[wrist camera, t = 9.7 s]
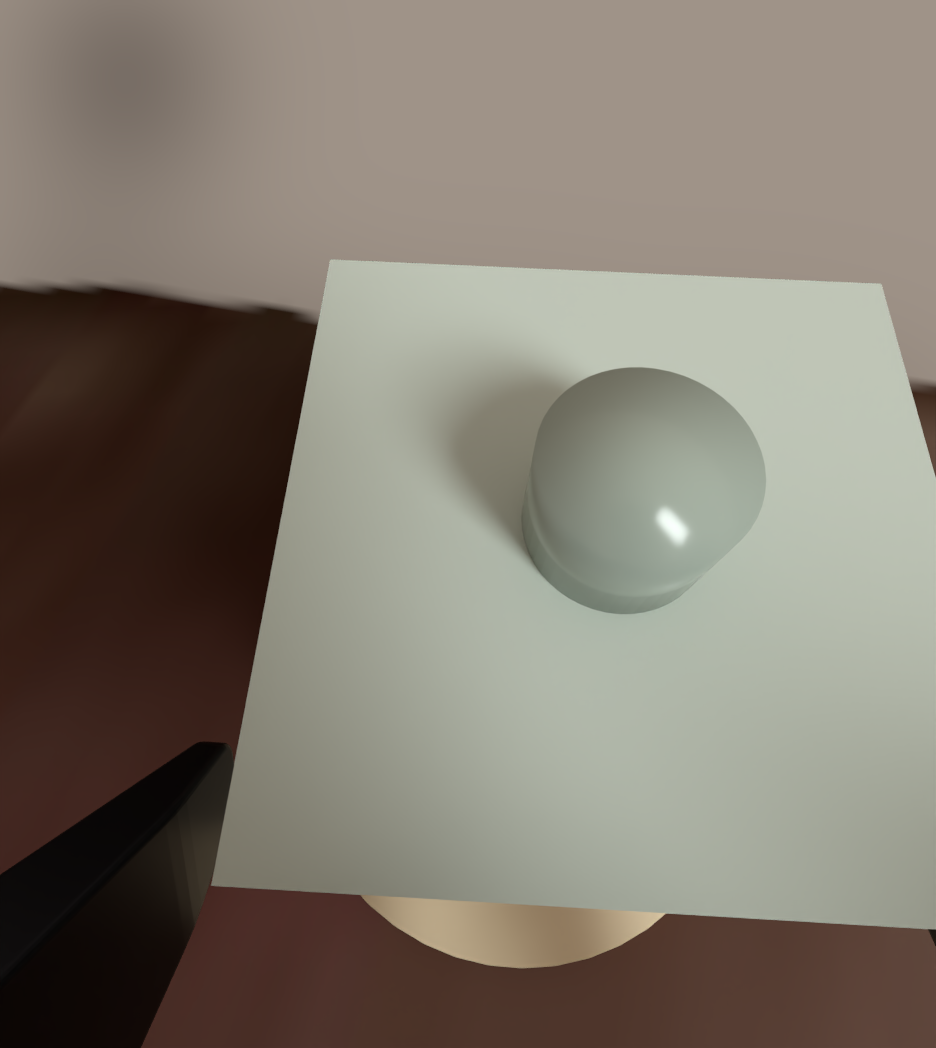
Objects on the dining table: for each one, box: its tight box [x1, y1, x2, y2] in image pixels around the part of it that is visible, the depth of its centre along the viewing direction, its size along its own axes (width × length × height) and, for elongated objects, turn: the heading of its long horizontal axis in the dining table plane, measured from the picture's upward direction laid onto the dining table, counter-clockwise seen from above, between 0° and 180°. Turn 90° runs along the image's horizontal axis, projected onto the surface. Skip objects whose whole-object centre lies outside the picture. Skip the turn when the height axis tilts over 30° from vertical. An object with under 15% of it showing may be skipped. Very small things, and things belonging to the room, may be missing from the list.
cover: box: [211, 260, 936, 930], centre depth 11 cm, size 6×6×13 cm
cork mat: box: [361, 895, 666, 968], centre depth 17 cm, size 12×12×1 cm
